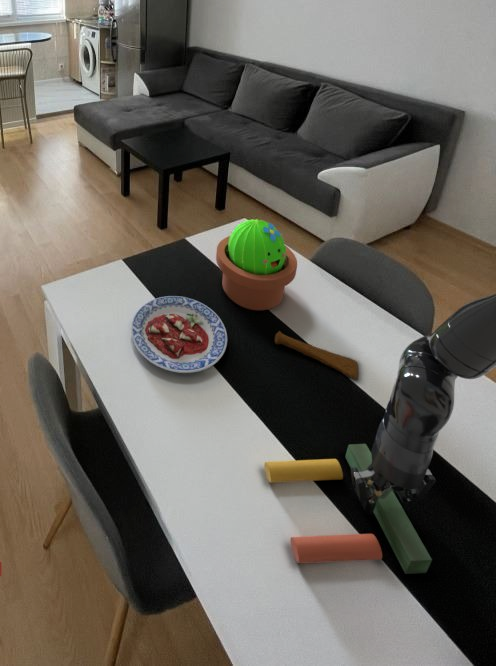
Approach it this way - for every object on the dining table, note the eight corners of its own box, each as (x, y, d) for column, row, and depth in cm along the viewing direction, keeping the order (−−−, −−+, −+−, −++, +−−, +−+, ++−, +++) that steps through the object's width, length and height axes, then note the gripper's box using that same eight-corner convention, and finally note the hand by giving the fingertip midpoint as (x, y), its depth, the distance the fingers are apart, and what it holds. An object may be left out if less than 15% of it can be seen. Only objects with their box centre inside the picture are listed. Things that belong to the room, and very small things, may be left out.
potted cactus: (201, 277, 138) (204, 212, 129) (256, 259, 145) (263, 195, 136) (246, 327, 119) (254, 254, 110) (307, 303, 126) (319, 232, 116)
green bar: (362, 456, 87) (365, 443, 86) (426, 573, 71) (432, 559, 69) (345, 457, 87) (348, 444, 86) (405, 573, 71) (410, 560, 69)
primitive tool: (356, 362, 107) (359, 352, 106) (357, 380, 103) (360, 370, 101) (275, 336, 116) (276, 326, 114) (272, 352, 111) (274, 342, 110)
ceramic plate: (163, 395, 102) (163, 386, 100) (115, 320, 124) (114, 312, 122) (247, 354, 111) (248, 345, 110) (188, 290, 133) (189, 283, 132)
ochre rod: (332, 465, 86) (335, 455, 85) (341, 483, 83) (344, 472, 82) (263, 468, 86) (265, 458, 85) (269, 486, 83) (271, 476, 82)
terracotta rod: (368, 539, 75) (372, 529, 74) (380, 563, 72) (384, 553, 71) (289, 543, 75) (291, 532, 74) (297, 567, 72) (300, 556, 71)
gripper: (373, 475, 69) (354, 534, 76) (461, 471, 69) (435, 531, 75) (347, 428, 76) (332, 486, 82) (427, 424, 76) (406, 483, 82)
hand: (381, 507), depth 79 cm, fingers open, 5 cm apart
